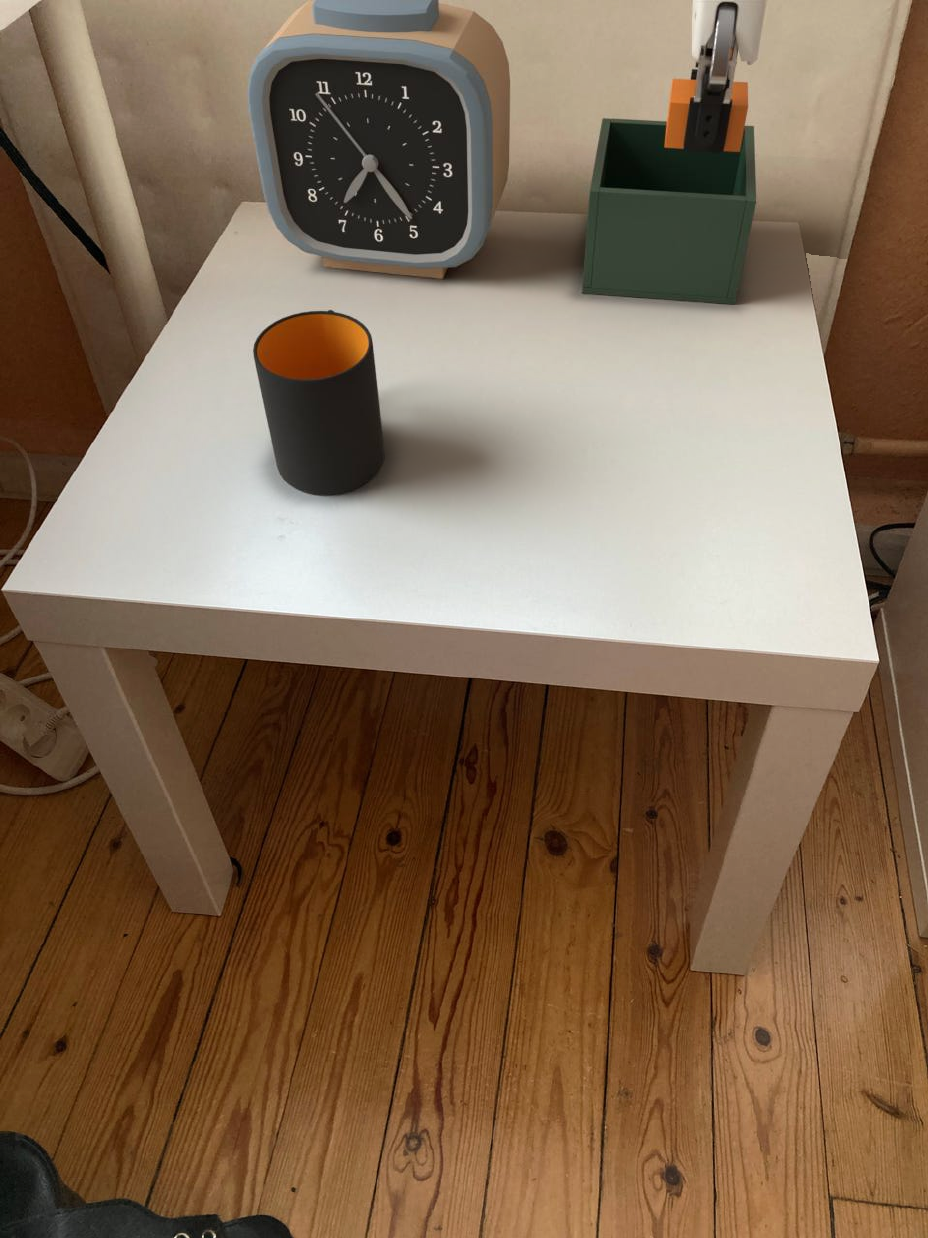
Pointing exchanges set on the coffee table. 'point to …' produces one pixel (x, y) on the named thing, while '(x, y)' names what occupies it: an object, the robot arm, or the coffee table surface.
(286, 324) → the mug
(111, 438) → the coffee table surface
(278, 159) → the alarm clock
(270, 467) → the coffee table surface
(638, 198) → the bin
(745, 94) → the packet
